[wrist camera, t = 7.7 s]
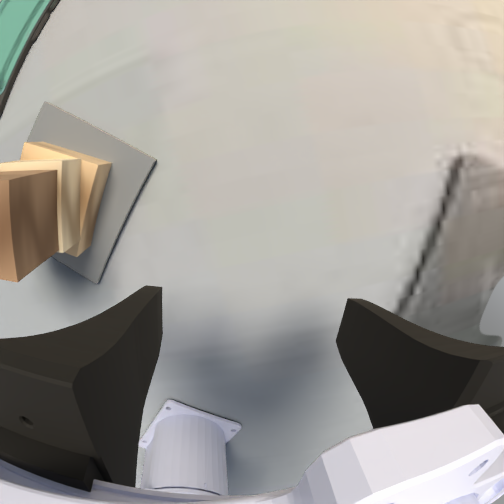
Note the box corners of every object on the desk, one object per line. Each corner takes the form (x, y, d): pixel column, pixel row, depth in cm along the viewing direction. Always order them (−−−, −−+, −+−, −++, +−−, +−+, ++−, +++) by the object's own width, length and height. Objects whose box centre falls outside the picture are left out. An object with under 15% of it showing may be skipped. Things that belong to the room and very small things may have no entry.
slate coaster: (99, 280, 21) (96, 284, 20) (5, 220, 18) (1, 222, 18) (157, 159, 19) (155, 159, 18) (48, 102, 16) (44, 101, 16)
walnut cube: (59, 250, 14) (17, 282, 10) (4, 244, 14) (-40, 271, 10) (57, 169, 13) (9, 180, 9) (0, 171, 12) (-49, 182, 8)
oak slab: (90, 245, 19) (76, 257, 17) (26, 220, 18) (9, 228, 16) (112, 163, 18) (98, 165, 16) (43, 141, 17) (24, 142, 14)
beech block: (80, 239, 17) (63, 252, 14) (21, 235, 16) (0, 246, 14) (81, 158, 15) (62, 160, 13) (19, 160, 15) (-3, 163, 12)
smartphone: (-48, 104, 13) (29, -43, 10) (-40, 104, 15) (35, -38, 11) (-6, 121, 15) (85, -44, 11) (3, 122, 16) (90, -37, 13)
